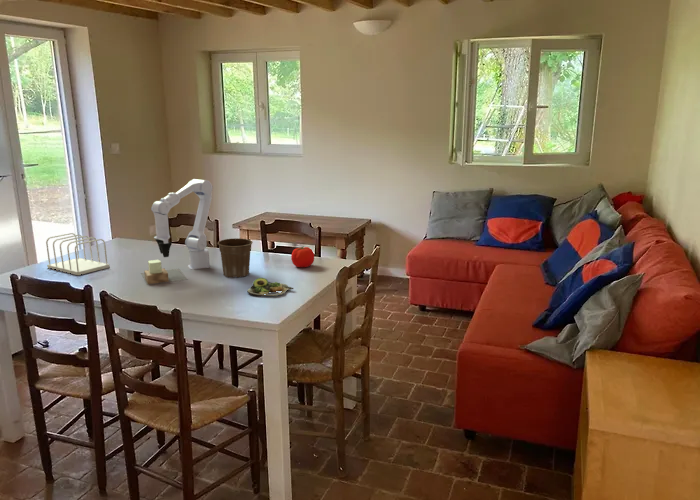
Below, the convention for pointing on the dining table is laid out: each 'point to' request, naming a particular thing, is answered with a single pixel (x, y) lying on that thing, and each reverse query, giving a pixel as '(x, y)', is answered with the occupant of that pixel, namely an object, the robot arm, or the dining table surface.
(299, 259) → the tomato
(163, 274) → the walnut base block
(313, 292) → the dining table surface
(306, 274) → the dining table surface
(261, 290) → the salad plate
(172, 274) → the building mat
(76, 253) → the file sorter
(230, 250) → the plant pot
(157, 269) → the sage cube
